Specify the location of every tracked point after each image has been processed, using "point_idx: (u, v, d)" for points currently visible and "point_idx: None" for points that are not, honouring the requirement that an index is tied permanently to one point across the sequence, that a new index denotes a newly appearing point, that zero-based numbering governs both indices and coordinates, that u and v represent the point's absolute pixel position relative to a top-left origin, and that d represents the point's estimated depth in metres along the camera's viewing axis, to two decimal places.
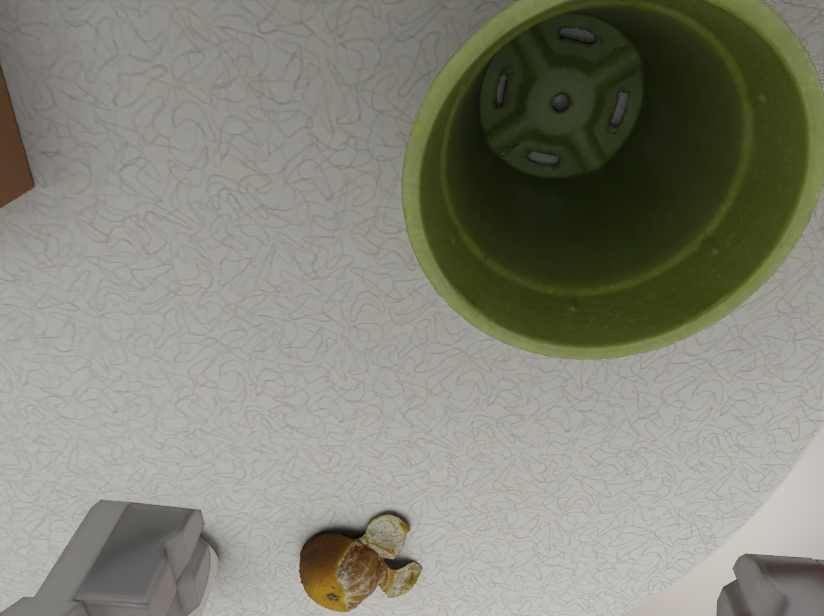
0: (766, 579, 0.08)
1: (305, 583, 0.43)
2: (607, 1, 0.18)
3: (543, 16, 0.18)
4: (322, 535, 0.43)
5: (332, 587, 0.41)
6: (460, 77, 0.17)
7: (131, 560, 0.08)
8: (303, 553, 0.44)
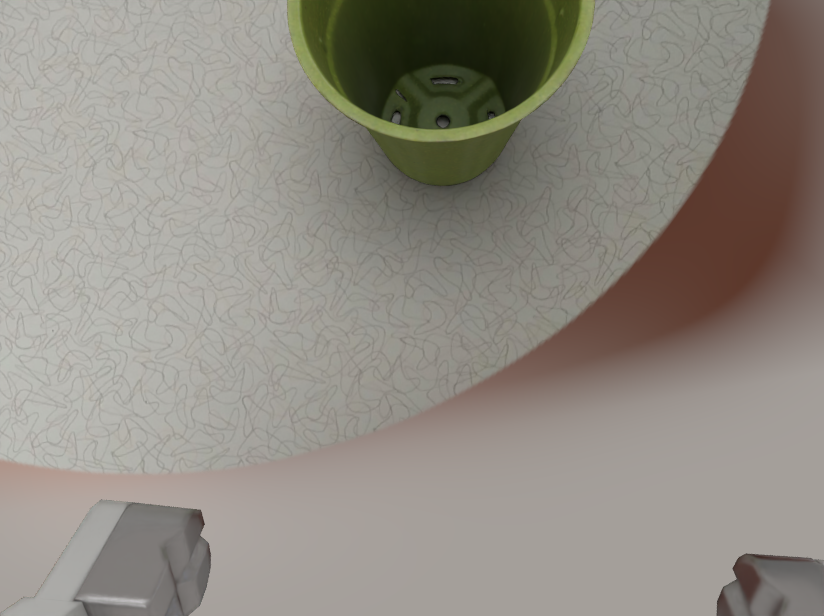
0: (766, 579, 0.08)
1: None
2: (552, 16, 0.26)
3: None
4: None
5: None
6: None
7: (131, 560, 0.08)
8: None
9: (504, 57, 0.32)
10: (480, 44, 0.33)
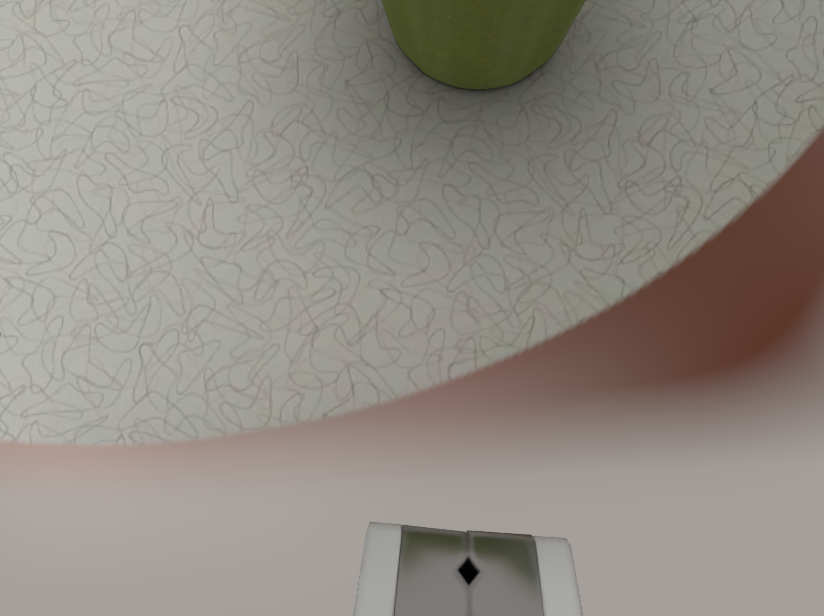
0: (472, 554, 0.09)
1: None
2: None
3: None
4: None
5: None
6: None
7: (431, 586, 0.08)
8: None
9: None
10: None
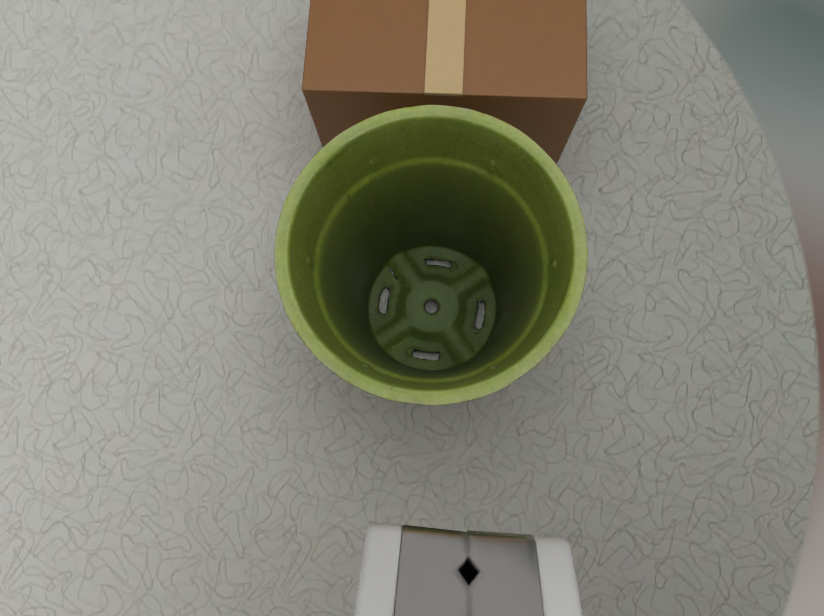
0: (472, 554, 0.09)
1: None
2: (546, 260, 0.26)
3: (535, 220, 0.26)
4: None
5: None
6: (512, 141, 0.24)
7: (431, 586, 0.08)
8: None
9: (498, 260, 0.32)
10: (476, 240, 0.33)
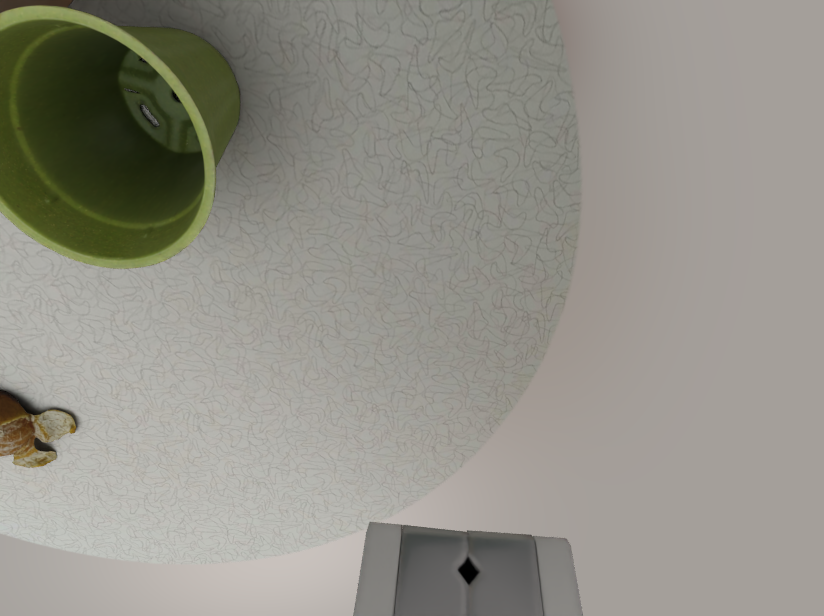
0: (472, 554, 0.09)
1: None
2: (170, 63, 0.28)
3: None
4: (3, 394, 0.50)
5: None
6: (40, 19, 0.25)
7: (431, 586, 0.08)
8: None
9: (172, 35, 0.32)
10: None
